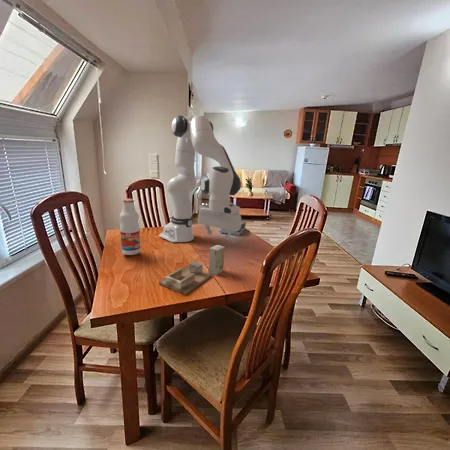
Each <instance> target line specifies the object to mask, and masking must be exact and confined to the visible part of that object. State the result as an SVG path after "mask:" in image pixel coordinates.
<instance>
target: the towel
mask: <svg viewBox="0 0 450 450" xmlns="http://www.w3.org/2000/svg"><path fill="white" fill-rule="evenodd" d="M246 223H247V222H246V221H242V220H241V228H240V230H238V231H236V232H235V231H233V232H232V233H231V235H233V236H239V237H240V235H241V234H243V232H244V230H245V229H246V226H247V225H246ZM218 231H219V233H222V234H225V235H227V234H228V233H229V232H228V230H226V229H222V228H219V229H218Z"/></svg>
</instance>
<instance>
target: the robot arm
mask: <svg viewBox="0 0 450 450" xmlns="http://www.w3.org/2000/svg"><path fill="white" fill-rule="evenodd" d="M171 131H172V134H173V136H175V137H177V139H176V146H175V155H174V156H175V157H174V165H175V167H176V172H177V176H174V177H172V178H171V179H169V181H168V182H167V184H166V189H167V192H168V193H169V194H170V196H171V200H172V207H173V209H172V211H173V212H172V213H173V214H172V216H171V217H169V219H170V220H171V221H170V222H169V223H167V224H165V225H164V227H163V229H162V232H161V233H160V234H159V235H158V236H159V237H160V238H162V239H165V240H166V241H169V242H170V243H186V242H187V243H188V242H191V241H193V240H194V239H195V238H194V233H193V216H192V215H193V209H192V208H193V204H192V203H191V201H190V200H191V199H190V195H189V194H190V193H192V192H193V191H194V190H195V189H196V188H197V186H198V183H197V182H198V181H197V179H196V174H195V162H196V153H198V154H199V155H201V156H202V157H207V158H209V159H211V160H212V159H213V160H214V161H216V162H218V164H219V165H218V166H213V167H211V169H210V171H209V172H208V173H204V174H203V175H202V176H201V177H200V181H199V182H200V184H199V185H200V187H199V188H200V191H201V192H202V193H203V194H204V195H207V196H209V198H208V201H209V202H208V203H205V202H204V203H201V204H200V205H199V207H198V210H199V211H198V218H197V221H198V224H200V225H204V228H205V230H206V235H207V236H212V234H213V230H211V227H213V228H216V229H217V228H218V229H220V228H222V229H226V230H228V232H229V233H228V234H225V235H224V239H225V240H230V239H231V235H232V234H231V233H232V232H233V231H235V232H236V231H238V230H240V228H241V221H242V215H241V213H240V212H241V207H240V206H238V205H236V204H235V203H233V202H231V197H230V196H235V195H237V194H238V193H239V192H240V190H241V187H242V181H241V179H240V176H239V175H238V174H237V172H236V171H235V168H234V166H233V163H232V161H231V158H230V156H229V154H228V153H227V150H226V149H225V147H224V146H223V145H222V144H220V143H219V142H218V140H217V138H216V137H215V134H214V125H213V123H212V122H211V121H209V119H208V117H206V116H205V115H195V116H188V115H187V116H184V115H175V117H173V119H172V122H171Z"/></svg>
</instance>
